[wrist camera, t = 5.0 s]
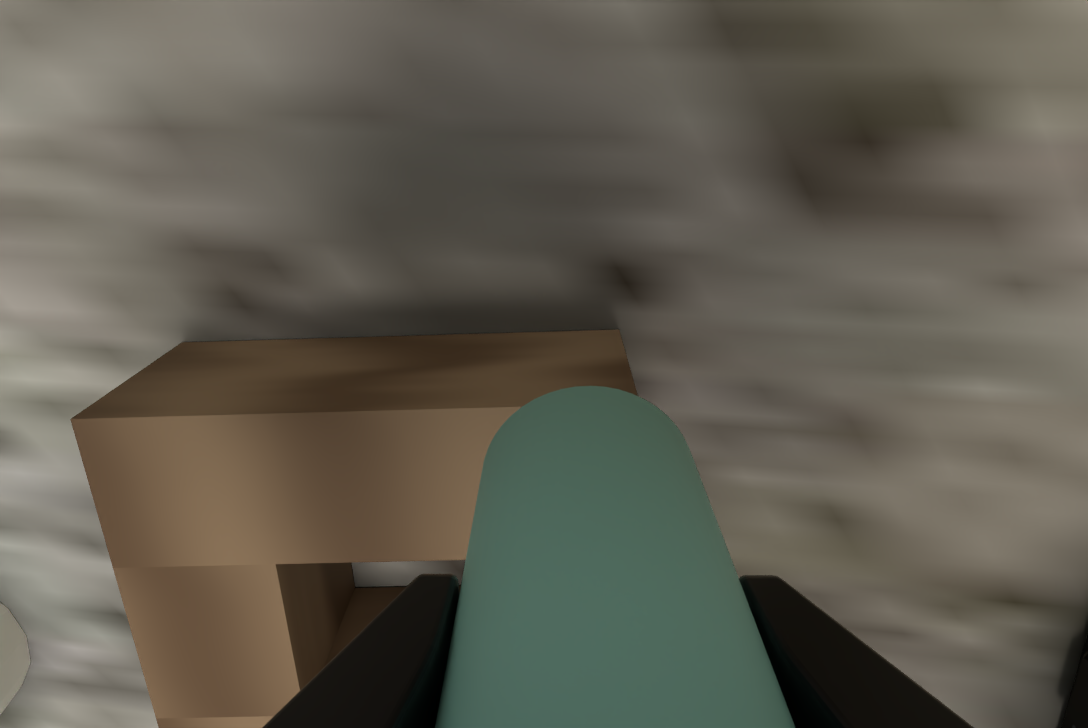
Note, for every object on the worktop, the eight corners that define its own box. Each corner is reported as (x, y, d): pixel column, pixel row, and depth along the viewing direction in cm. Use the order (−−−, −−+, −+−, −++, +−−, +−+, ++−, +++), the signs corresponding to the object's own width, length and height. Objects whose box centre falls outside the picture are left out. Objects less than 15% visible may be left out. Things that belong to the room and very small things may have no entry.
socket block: (619, 329, 20) (639, 403, 15) (618, 676, 24) (634, 818, 19) (181, 342, 20) (70, 419, 16) (256, 683, 24) (186, 825, 20)
